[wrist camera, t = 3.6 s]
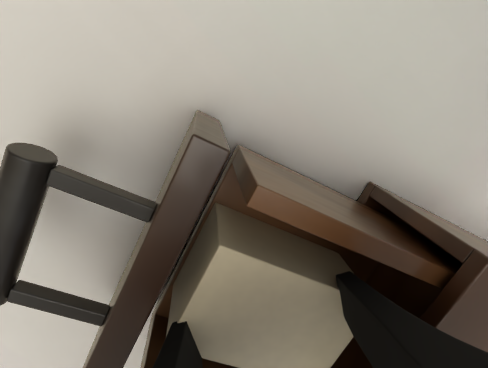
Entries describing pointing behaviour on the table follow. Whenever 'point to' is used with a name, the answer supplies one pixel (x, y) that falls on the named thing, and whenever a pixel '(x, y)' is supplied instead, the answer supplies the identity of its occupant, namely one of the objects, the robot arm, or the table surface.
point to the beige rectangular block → (260, 296)
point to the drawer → (180, 226)
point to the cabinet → (460, 250)
